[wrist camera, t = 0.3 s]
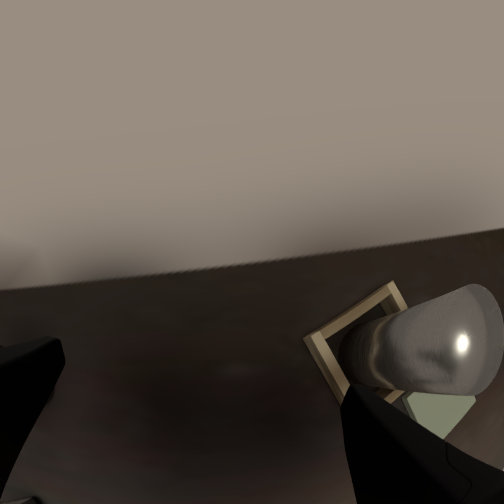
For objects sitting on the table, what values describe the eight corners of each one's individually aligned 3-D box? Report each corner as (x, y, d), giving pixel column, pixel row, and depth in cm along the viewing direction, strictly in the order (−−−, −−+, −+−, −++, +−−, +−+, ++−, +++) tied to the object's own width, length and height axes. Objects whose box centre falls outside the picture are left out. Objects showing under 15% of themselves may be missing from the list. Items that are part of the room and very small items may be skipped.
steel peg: (401, 360, 21) (512, 347, 9) (356, 396, 20) (463, 419, 7) (375, 311, 22) (480, 264, 10) (327, 344, 21) (425, 326, 9)
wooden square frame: (418, 363, 21) (434, 362, 18) (348, 420, 19) (360, 426, 16) (379, 288, 23) (392, 280, 21) (302, 338, 21) (310, 336, 19)
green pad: (469, 400, 19) (475, 400, 18) (424, 450, 17) (430, 451, 16) (450, 348, 21) (456, 347, 20) (401, 397, 19) (406, 398, 18)
